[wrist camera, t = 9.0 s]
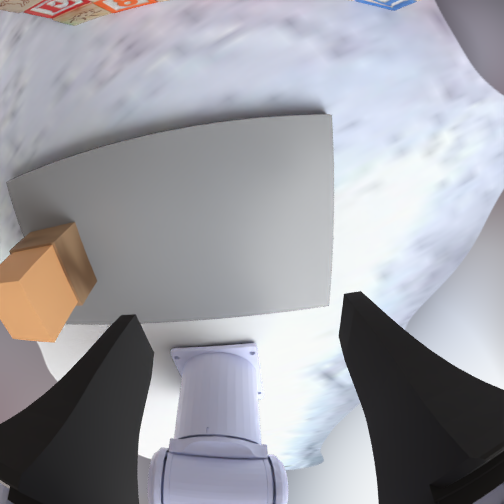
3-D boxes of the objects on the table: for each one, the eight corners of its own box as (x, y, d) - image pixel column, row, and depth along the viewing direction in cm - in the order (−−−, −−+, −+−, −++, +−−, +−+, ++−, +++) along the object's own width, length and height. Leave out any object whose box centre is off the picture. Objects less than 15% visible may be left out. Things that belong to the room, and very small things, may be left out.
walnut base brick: (97, 280, 20) (82, 305, 17) (52, 284, 20) (36, 306, 17) (74, 222, 17) (53, 242, 14) (30, 232, 17) (9, 251, 15)
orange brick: (77, 301, 17) (54, 342, 13) (36, 303, 17) (13, 338, 13) (52, 244, 15) (18, 281, 11) (12, 252, 15) (-20, 284, 11)
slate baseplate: (325, 297, 22) (329, 305, 22) (70, 317, 23) (66, 324, 22) (326, 113, 15) (331, 114, 15) (13, 178, 16) (6, 182, 15)
